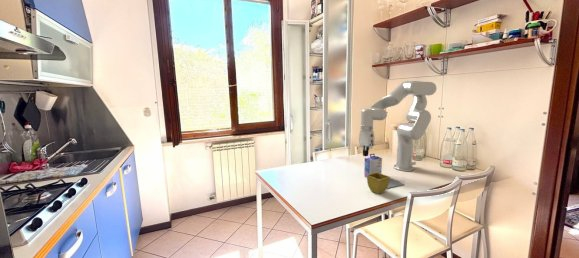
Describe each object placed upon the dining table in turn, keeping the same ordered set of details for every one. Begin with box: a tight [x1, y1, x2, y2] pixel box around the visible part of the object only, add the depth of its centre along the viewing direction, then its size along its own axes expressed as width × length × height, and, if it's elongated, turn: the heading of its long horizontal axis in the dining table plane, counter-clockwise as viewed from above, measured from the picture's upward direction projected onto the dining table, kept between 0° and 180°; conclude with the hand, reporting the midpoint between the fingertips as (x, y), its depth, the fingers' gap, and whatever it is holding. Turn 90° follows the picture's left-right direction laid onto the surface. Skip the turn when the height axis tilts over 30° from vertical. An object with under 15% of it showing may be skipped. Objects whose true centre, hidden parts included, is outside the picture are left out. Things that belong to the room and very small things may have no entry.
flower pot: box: [366, 173, 391, 195], centre depth 136 cm, size 9×9×9 cm
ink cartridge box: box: [363, 153, 383, 178], centre depth 158 cm, size 10×6×14 cm, turn 113°
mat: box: [386, 177, 405, 190], centre depth 149 cm, size 14×15×1 cm
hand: (365, 155), depth 164 cm, fingers closed
